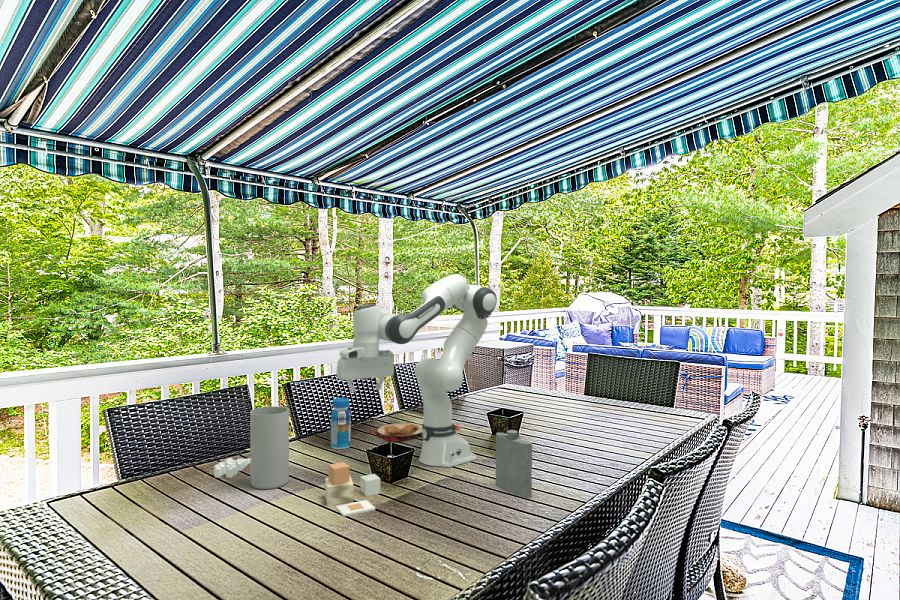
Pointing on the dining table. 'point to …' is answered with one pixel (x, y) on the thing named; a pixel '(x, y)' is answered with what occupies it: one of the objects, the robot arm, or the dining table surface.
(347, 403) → the beverage bottle
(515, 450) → the hip flask
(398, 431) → the plate with food
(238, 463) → the modular blocks
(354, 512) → the card
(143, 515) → the dining table surface
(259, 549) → the dining table surface
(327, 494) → the birch block
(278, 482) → the cylinder vase
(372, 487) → the grey cube
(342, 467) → the terracotta cube
